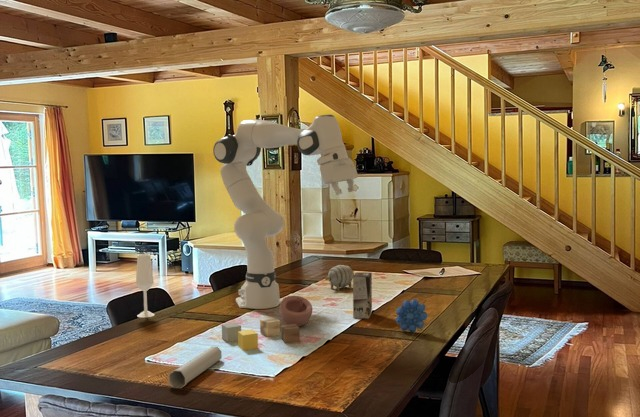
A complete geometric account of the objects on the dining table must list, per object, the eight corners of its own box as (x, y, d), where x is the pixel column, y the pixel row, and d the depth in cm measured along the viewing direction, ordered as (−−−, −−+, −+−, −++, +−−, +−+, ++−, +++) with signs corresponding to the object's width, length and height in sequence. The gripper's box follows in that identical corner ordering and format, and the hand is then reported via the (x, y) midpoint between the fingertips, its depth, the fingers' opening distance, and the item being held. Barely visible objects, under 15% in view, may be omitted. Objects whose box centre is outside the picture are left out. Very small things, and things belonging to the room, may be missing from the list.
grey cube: (222, 338, 216) (221, 324, 215) (235, 336, 218) (235, 322, 218) (227, 342, 212) (227, 327, 211) (241, 340, 214) (241, 325, 214)
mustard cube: (238, 346, 207) (237, 331, 207) (252, 344, 209) (252, 329, 209) (243, 350, 203) (242, 335, 202) (257, 348, 205) (257, 333, 204)
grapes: (431, 331, 222) (431, 297, 221) (425, 336, 216) (425, 301, 215) (399, 327, 227) (399, 294, 226) (393, 332, 221) (393, 298, 220)
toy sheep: (360, 287, 296) (360, 264, 295) (335, 293, 285) (335, 268, 284) (344, 284, 304) (344, 261, 303) (319, 289, 292) (318, 266, 291)
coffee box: (369, 318, 240) (369, 276, 239) (352, 318, 241) (352, 276, 240) (372, 312, 249) (372, 272, 247) (356, 312, 250) (355, 271, 249)
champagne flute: (158, 314, 250) (156, 254, 248) (146, 318, 244) (144, 256, 242) (144, 312, 253) (142, 253, 251) (133, 316, 247) (131, 255, 245)
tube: (206, 346, 195) (165, 372, 171) (221, 342, 193) (182, 367, 170) (212, 362, 195) (171, 391, 171) (227, 358, 193) (188, 386, 169)
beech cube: (260, 333, 222) (260, 319, 221) (272, 331, 225) (272, 317, 224) (267, 336, 218) (267, 322, 217) (280, 334, 220) (279, 320, 220)
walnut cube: (281, 339, 214) (281, 325, 214) (295, 338, 216) (295, 323, 215) (285, 343, 209) (284, 329, 209) (299, 342, 211) (299, 327, 210)
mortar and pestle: (287, 332, 223) (287, 300, 222) (274, 324, 233) (273, 293, 232) (318, 327, 228) (317, 296, 227) (303, 320, 239) (303, 290, 238)
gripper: (342, 157, 243) (351, 192, 243) (314, 160, 226) (324, 198, 226) (355, 153, 240) (365, 188, 240) (328, 156, 223) (339, 193, 222)
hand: (345, 193), depth 233 cm, fingers open, 8 cm apart
